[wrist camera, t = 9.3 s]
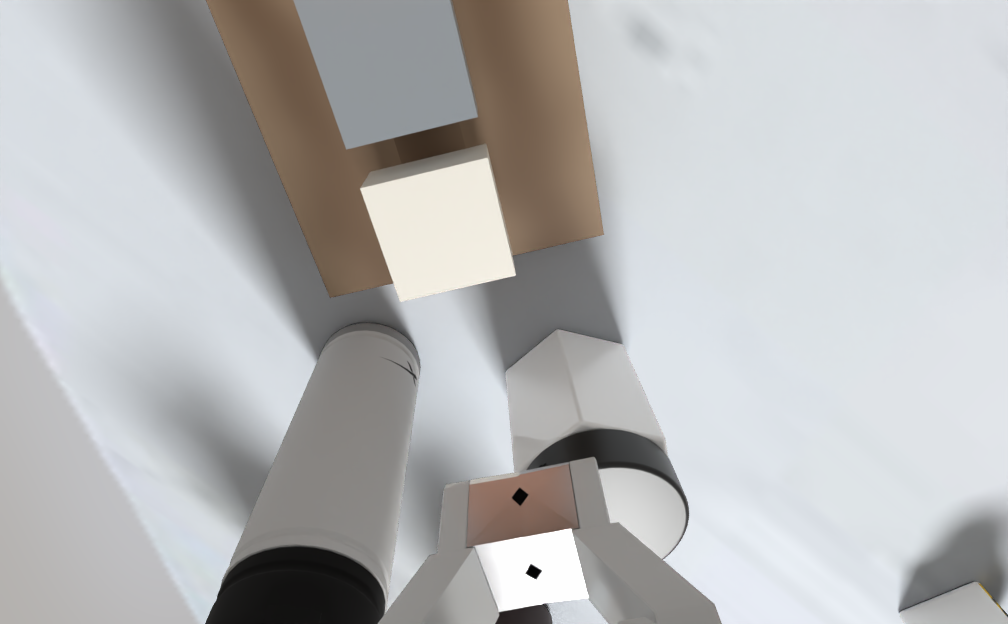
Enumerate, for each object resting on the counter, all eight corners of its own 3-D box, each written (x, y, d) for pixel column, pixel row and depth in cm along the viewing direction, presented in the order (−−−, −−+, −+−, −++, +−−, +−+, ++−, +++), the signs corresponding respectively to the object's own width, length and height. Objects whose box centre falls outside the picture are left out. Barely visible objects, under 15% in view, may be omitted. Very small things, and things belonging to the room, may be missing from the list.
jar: (493, 342, 37) (502, 479, 26) (619, 312, 36) (681, 440, 26) (524, 447, 41) (542, 602, 30) (638, 422, 40) (697, 571, 30)
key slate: (448, -28, 25) (440, -40, 19) (476, 90, 28) (477, 117, 21) (339, 0, 26) (292, -1, 19) (375, 115, 28) (346, 149, 21)
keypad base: (508, -264, 23) (517, -327, 19) (586, 203, 33) (603, 234, 28) (182, -171, 24) (118, -210, 20) (348, 259, 34) (330, 297, 29)
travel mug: (430, 327, 36) (391, 638, 18) (410, 410, 39) (359, 748, 21) (328, 306, 35) (182, 614, 17) (316, 393, 38) (179, 733, 20)
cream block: (484, 122, 28) (487, 157, 22) (506, 217, 31) (516, 275, 24) (385, 146, 29) (360, 188, 22) (415, 238, 31) (400, 302, 24)
